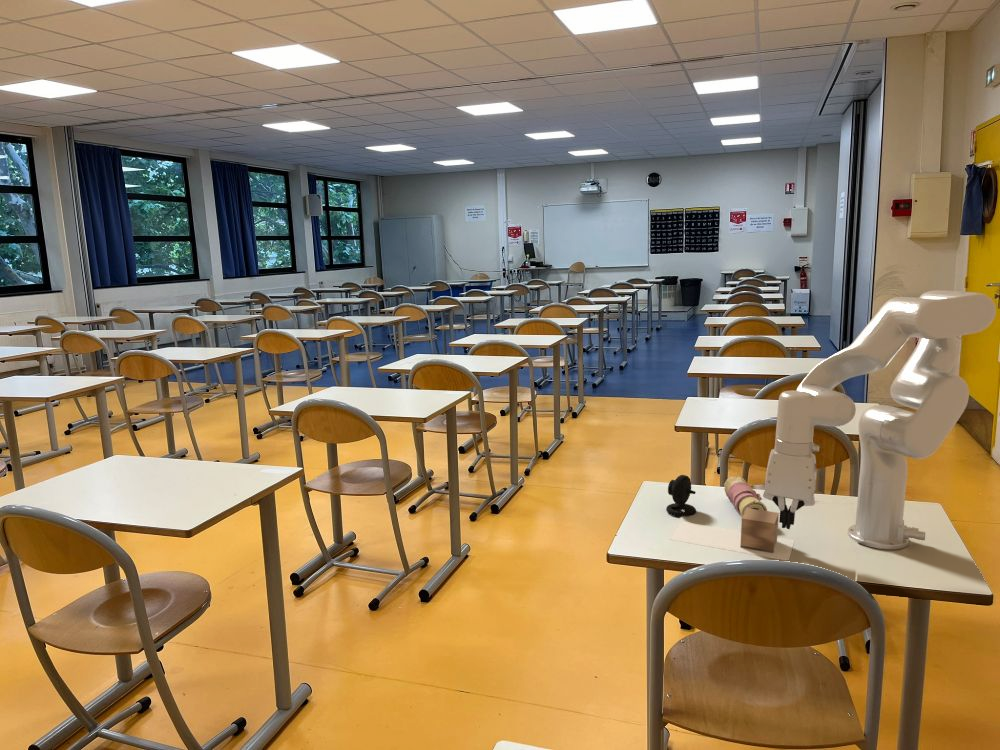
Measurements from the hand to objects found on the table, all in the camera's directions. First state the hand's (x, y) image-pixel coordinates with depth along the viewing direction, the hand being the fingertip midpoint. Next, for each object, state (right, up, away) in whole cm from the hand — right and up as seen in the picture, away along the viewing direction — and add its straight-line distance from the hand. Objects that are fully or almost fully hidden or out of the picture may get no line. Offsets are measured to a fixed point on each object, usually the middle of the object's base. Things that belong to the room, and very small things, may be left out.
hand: (786, 526), depth 158 cm
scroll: (-1, -2, +24) cm, 24 cm away
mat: (-10, -5, +7) cm, 13 cm away
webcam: (-17, -2, +25) cm, 30 cm away
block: (-5, -5, +4) cm, 8 cm away
